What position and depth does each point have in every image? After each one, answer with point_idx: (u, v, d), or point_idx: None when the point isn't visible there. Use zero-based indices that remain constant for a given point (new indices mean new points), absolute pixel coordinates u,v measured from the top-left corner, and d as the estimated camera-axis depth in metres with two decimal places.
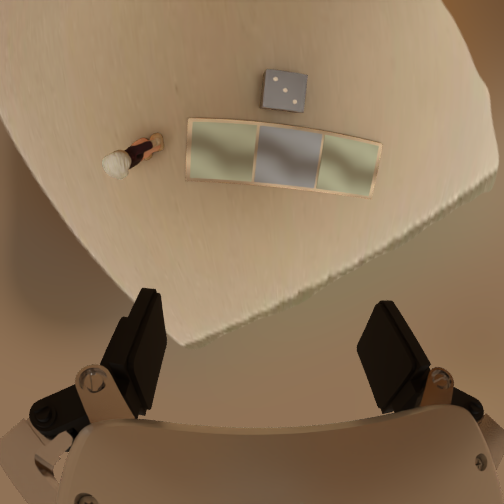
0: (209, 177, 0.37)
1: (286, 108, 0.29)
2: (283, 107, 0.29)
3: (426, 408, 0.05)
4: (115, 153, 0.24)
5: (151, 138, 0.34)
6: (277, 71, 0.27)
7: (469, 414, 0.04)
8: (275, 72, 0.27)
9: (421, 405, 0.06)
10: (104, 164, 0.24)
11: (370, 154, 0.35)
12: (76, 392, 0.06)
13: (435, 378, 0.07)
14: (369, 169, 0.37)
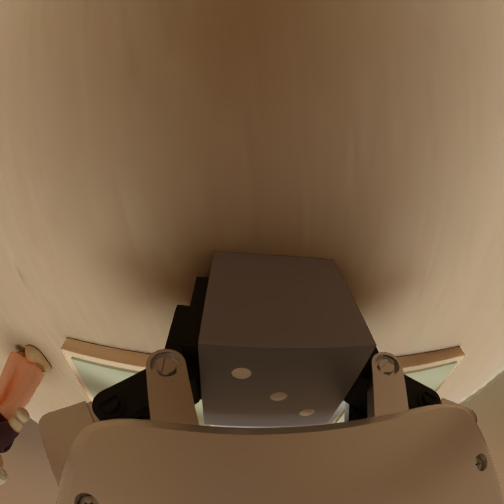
0: None
1: (278, 424, 0.09)
2: (269, 424, 0.09)
3: (426, 408, 0.05)
4: None
5: (26, 356, 0.14)
6: (249, 351, 0.07)
7: (469, 414, 0.04)
8: (240, 355, 0.07)
9: (375, 399, 0.06)
10: None
11: (438, 378, 0.15)
12: (144, 378, 0.07)
13: (380, 365, 0.08)
14: None
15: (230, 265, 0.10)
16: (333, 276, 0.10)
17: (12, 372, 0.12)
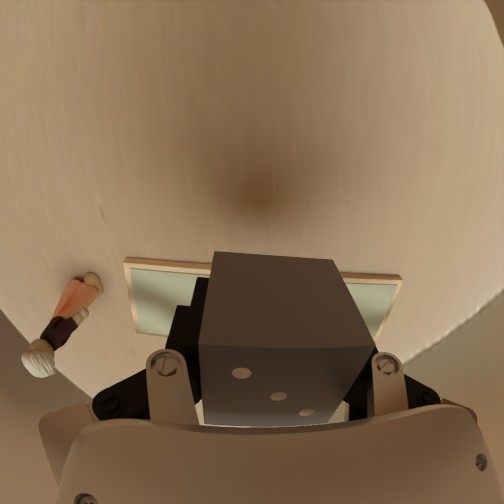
0: (164, 333, 0.27)
1: (277, 424, 0.09)
2: (268, 424, 0.09)
3: (426, 408, 0.05)
4: (30, 359, 0.15)
5: (85, 281, 0.25)
6: (249, 351, 0.07)
7: (469, 414, 0.04)
8: (240, 355, 0.07)
9: (375, 400, 0.06)
10: (25, 365, 0.15)
11: (384, 297, 0.26)
12: (143, 379, 0.07)
13: (380, 365, 0.08)
14: (379, 314, 0.27)
15: (230, 265, 0.10)
16: (333, 276, 0.10)
17: (72, 292, 0.23)
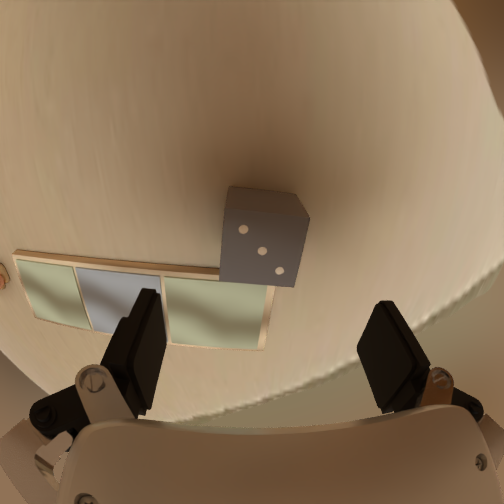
0: (51, 319, 0.24)
1: (263, 282, 0.18)
2: (257, 281, 0.18)
3: (426, 408, 0.05)
4: None
5: None
6: (247, 213, 0.16)
7: (469, 414, 0.04)
8: (243, 215, 0.16)
9: (421, 405, 0.06)
10: None
11: (251, 298, 0.23)
12: (76, 392, 0.06)
13: (435, 378, 0.07)
14: (252, 318, 0.24)
15: (238, 190, 0.19)
16: (293, 198, 0.19)
17: None
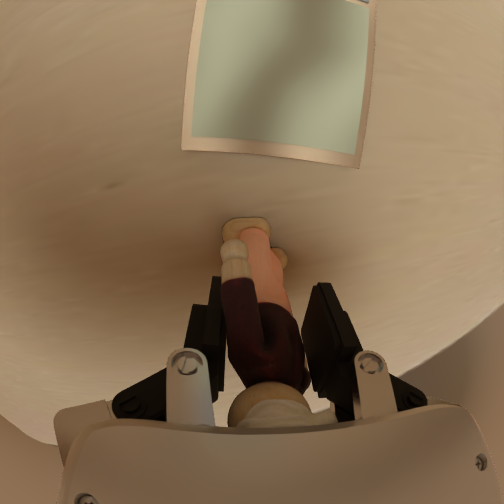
0: (358, 102, 0.11)
1: None
2: None
3: (426, 408, 0.05)
4: None
5: None
6: None
7: (469, 414, 0.04)
8: None
9: (361, 401, 0.06)
10: None
11: None
12: (164, 378, 0.07)
13: (363, 364, 0.08)
14: None
15: None
16: None
17: None
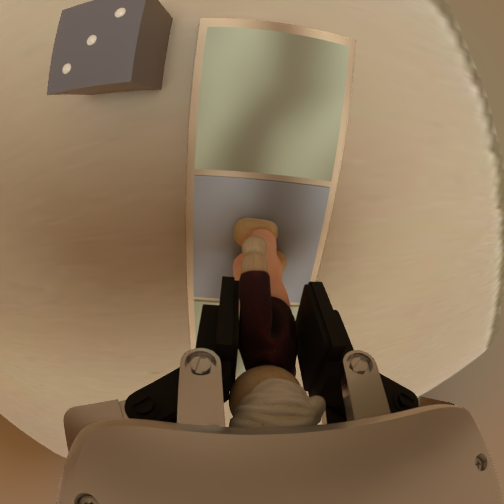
0: None
1: (136, 25, 0.08)
2: (133, 32, 0.08)
3: (426, 408, 0.05)
4: None
5: (241, 243, 0.16)
6: (52, 70, 0.08)
7: (469, 414, 0.04)
8: (53, 73, 0.08)
9: (352, 402, 0.06)
10: None
11: (233, 44, 0.11)
12: (177, 378, 0.07)
13: (352, 364, 0.08)
14: (276, 43, 0.12)
15: None
16: None
17: (241, 271, 0.15)
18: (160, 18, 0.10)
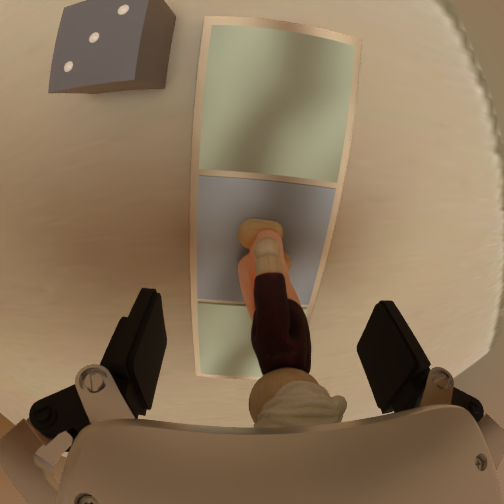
0: None
1: (139, 22, 0.08)
2: (136, 29, 0.08)
3: (426, 408, 0.05)
4: None
5: (246, 244, 0.16)
6: (53, 68, 0.08)
7: (469, 414, 0.04)
8: (55, 71, 0.08)
9: (421, 405, 0.06)
10: None
11: (238, 43, 0.11)
12: (76, 392, 0.06)
13: (435, 378, 0.07)
14: (281, 42, 0.11)
15: None
16: None
17: (248, 273, 0.15)
18: (164, 16, 0.09)
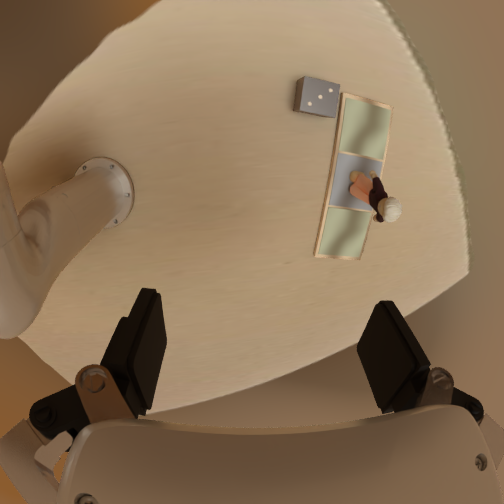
0: (362, 243, 0.46)
1: (336, 98, 0.31)
2: (336, 100, 0.31)
3: (426, 408, 0.05)
4: (387, 206, 0.30)
5: (353, 180, 0.40)
6: (302, 101, 0.31)
7: (469, 414, 0.04)
8: (303, 103, 0.32)
9: (421, 405, 0.06)
10: (390, 219, 0.30)
11: (354, 106, 0.35)
12: (76, 392, 0.06)
13: (435, 378, 0.07)
14: (368, 108, 0.35)
15: (294, 106, 0.35)
16: (298, 81, 0.33)
17: (357, 188, 0.38)
18: None
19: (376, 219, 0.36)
